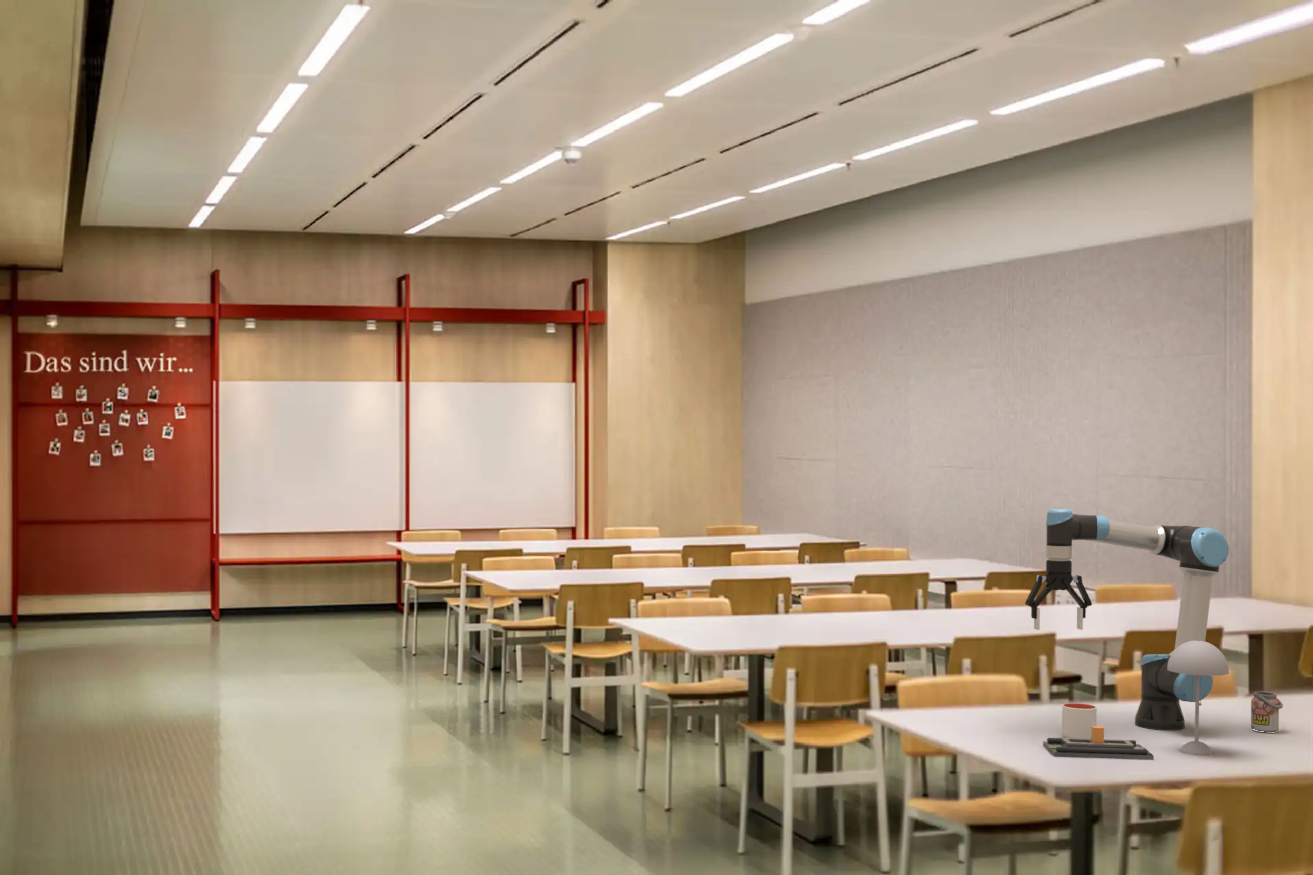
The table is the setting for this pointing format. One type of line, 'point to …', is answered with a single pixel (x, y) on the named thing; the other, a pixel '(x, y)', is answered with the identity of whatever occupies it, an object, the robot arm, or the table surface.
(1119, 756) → the panel
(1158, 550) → the robot arm
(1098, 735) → the toggle
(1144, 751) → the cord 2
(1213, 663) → the lamp
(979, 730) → the table surface
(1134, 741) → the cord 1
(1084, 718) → the cup
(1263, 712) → the paint can
